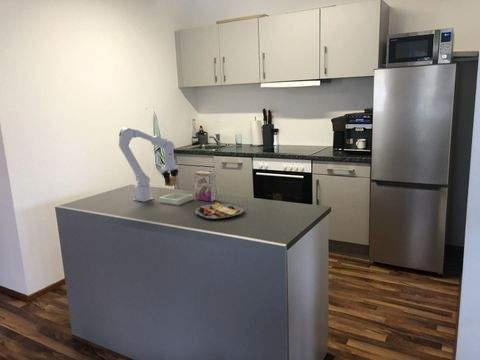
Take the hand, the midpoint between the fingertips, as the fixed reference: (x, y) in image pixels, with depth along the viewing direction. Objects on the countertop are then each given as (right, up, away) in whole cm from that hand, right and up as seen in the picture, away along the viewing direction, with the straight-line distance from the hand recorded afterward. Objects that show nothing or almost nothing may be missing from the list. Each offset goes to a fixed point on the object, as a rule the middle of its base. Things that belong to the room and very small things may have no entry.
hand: (170, 182), depth 244 cm
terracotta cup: (+18, -8, -1) cm, 20 cm away
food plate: (+32, -16, -38) cm, 52 cm away
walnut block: (0, -1, 0) cm, 2 cm away
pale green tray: (+5, -11, -11) cm, 16 cm away
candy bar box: (+22, -10, -10) cm, 27 cm away
